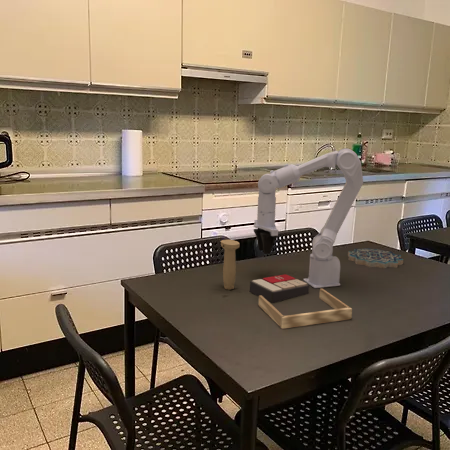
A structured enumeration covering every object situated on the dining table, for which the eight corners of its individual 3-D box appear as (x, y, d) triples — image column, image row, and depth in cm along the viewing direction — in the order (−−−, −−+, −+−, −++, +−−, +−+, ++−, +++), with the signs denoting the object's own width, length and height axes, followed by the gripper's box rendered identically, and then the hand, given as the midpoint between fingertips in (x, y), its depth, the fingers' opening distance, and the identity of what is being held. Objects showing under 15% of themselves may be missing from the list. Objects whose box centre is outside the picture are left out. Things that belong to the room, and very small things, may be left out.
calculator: (310, 283, 140) (273, 290, 132) (308, 296, 141) (271, 304, 133) (286, 272, 149) (249, 278, 141) (284, 285, 150) (248, 292, 141)
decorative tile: (410, 260, 177) (410, 255, 176) (389, 272, 162) (390, 266, 162) (361, 250, 190) (361, 244, 189) (338, 260, 175) (338, 254, 175)
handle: (228, 293, 140) (229, 245, 136) (216, 286, 145) (217, 240, 141) (241, 289, 142) (242, 243, 139) (229, 283, 148) (230, 238, 144)
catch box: (321, 297, 138) (322, 288, 137) (351, 319, 123) (352, 308, 123) (258, 305, 131) (258, 295, 130) (282, 328, 117) (282, 317, 116)
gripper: (246, 207, 153) (245, 246, 156) (264, 216, 139) (262, 259, 143) (266, 206, 155) (264, 245, 158) (284, 215, 142) (282, 257, 145)
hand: (264, 251), depth 151 cm, fingers open, 3 cm apart
